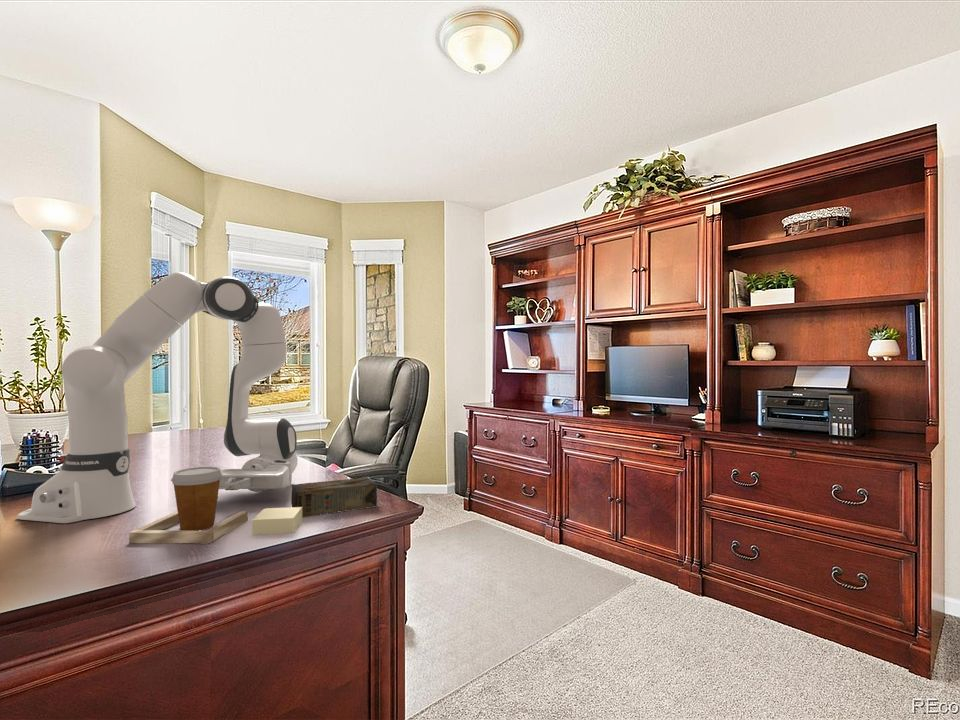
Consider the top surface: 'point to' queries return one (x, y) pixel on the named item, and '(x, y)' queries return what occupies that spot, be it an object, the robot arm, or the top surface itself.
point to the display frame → (158, 535)
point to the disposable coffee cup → (196, 496)
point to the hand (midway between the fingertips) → (230, 486)
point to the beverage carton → (334, 496)
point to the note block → (277, 520)
